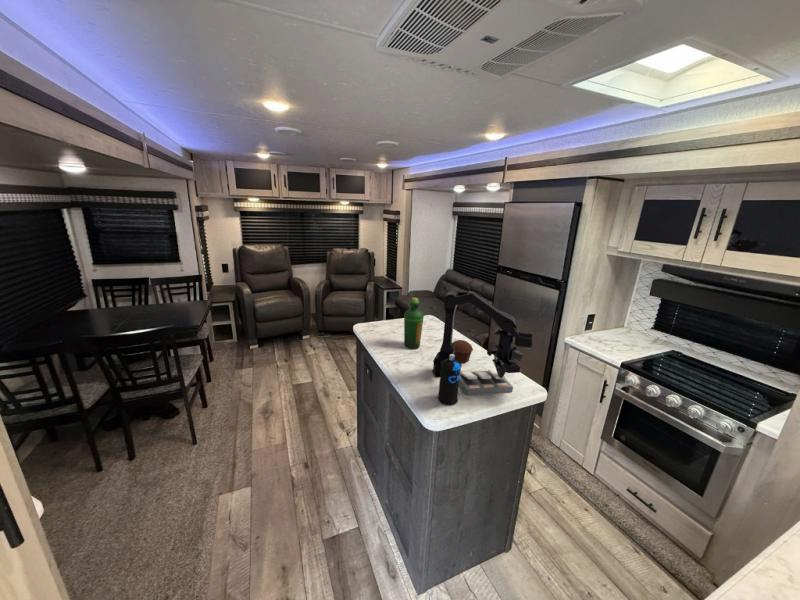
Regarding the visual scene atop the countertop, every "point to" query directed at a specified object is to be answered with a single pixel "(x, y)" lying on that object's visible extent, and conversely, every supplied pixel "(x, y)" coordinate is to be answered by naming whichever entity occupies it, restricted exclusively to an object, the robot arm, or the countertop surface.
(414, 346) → the bottle
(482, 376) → the rocker
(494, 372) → the rocker
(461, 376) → the switch unit
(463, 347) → the muffin
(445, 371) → the aerosol can
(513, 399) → the countertop surface
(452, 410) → the countertop surface
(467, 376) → the rocker
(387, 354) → the countertop surface
